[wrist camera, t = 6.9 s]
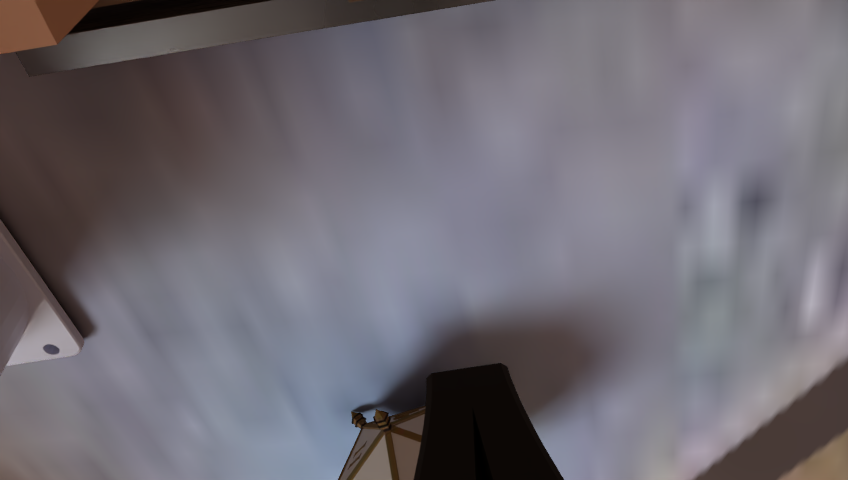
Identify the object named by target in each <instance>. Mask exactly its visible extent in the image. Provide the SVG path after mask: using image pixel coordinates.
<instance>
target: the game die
mask: <svg viewBox="0 0 848 480" xmlns="http://www.w3.org/2000/svg"><path fill="white" fill-rule="evenodd" d="M425 407H426V405H425V406H422V407H419V408H415V409H412V410H409V411H406V412H402V413H399V414H396V415H392V416H389V417H388V414H389V413H388V412H384V411H379V410H377V409H376V413H375V416H374V417H373V418H374V421H373V422H369V423H367V422H366V418H364V417H363V414H361V413H355V412H352V411H351V413H352V424H355V427H359V428H361V431H360V433H359V435H358V437H357V439H356V441H355V444H354V446H353V448H352V450H351V452H350V455H349V457H348V459H347V461H346V463H345V465H344V468H343V470H342V472H341V474H340V476H339V478H338V480H413V479H414V475H415V470H416V465H417V460H418V455H419V450H420V444H421V438H422V431H423V425H424V417H425Z"/></svg>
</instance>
